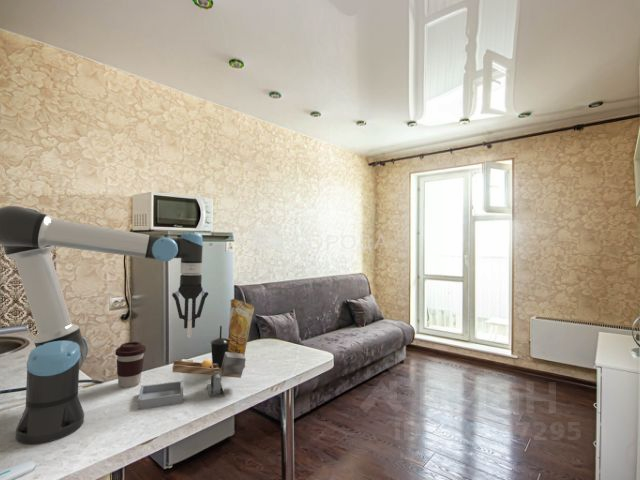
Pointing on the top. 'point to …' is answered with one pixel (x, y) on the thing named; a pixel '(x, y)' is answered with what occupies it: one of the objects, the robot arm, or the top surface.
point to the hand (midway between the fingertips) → (189, 336)
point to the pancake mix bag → (239, 326)
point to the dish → (160, 394)
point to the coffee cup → (130, 363)
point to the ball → (206, 363)
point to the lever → (213, 366)
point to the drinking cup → (219, 349)
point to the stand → (215, 384)
